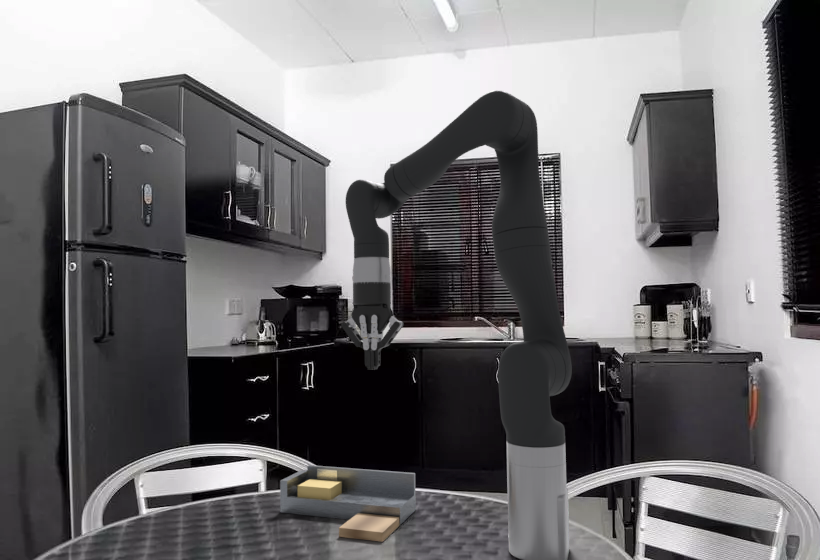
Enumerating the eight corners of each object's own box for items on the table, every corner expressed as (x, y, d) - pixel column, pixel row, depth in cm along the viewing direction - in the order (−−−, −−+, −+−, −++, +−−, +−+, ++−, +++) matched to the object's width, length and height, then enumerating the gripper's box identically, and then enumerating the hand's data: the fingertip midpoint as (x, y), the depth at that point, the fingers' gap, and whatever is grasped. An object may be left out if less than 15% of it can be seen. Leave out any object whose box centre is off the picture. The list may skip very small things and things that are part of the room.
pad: (399, 525, 108) (399, 517, 108) (382, 541, 101) (382, 532, 101) (358, 521, 111) (358, 513, 111) (339, 536, 103) (339, 527, 103)
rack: (415, 510, 117) (415, 473, 117) (400, 524, 109) (399, 485, 109) (302, 499, 125) (302, 464, 125) (280, 512, 117) (280, 475, 117)
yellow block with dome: (341, 481, 120) (307, 478, 122) (330, 488, 115) (294, 485, 118) (341, 507, 120) (307, 504, 122) (330, 515, 115) (294, 511, 117)
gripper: (409, 281, 122) (410, 368, 121) (349, 283, 126) (349, 367, 125) (396, 279, 115) (397, 371, 114) (333, 281, 119) (333, 370, 118)
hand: (372, 369), depth 119 cm, fingers closed
